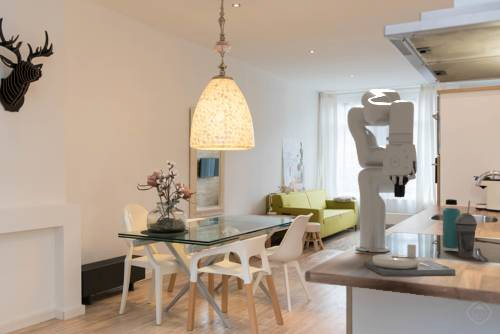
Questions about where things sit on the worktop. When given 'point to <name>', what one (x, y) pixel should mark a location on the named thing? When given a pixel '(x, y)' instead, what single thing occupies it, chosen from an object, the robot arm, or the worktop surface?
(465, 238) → the beverage cup
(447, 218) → the beverage bottle
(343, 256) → the worktop surface
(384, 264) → the dial
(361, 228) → the robot arm
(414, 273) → the stand
